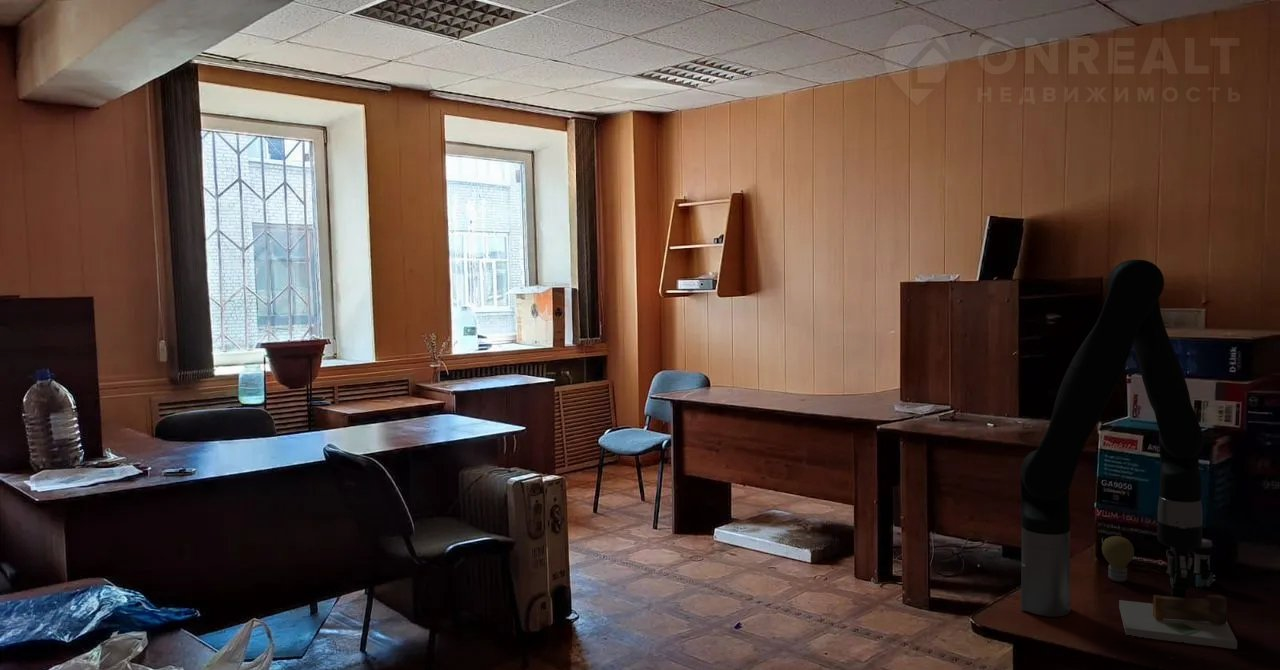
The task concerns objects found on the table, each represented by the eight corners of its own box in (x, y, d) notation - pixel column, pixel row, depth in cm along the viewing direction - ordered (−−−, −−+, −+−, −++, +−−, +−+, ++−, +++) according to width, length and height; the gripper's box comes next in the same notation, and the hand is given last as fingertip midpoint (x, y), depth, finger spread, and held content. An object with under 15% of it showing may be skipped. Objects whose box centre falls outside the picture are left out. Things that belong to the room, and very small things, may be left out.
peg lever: (1222, 618, 170) (1223, 595, 170) (1228, 625, 167) (1229, 601, 167) (1151, 614, 173) (1152, 591, 173) (1156, 620, 170) (1157, 597, 170)
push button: (1203, 578, 197) (1203, 534, 196) (1226, 586, 192) (1227, 541, 191) (1181, 582, 194) (1182, 538, 194) (1204, 590, 189) (1205, 545, 189)
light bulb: (1095, 576, 200) (1095, 533, 199) (1121, 574, 201) (1121, 531, 200) (1113, 586, 194) (1113, 542, 193) (1140, 584, 194) (1140, 540, 194)
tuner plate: (1125, 635, 169) (1125, 627, 168) (1119, 607, 182) (1119, 599, 182) (1237, 649, 161) (1237, 640, 161) (1221, 618, 175) (1221, 610, 175)
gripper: (1153, 509, 179) (1152, 591, 181) (1162, 528, 167) (1161, 615, 169) (1196, 512, 176) (1194, 596, 178) (1208, 531, 164) (1206, 621, 166)
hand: (1178, 605), depth 173 cm, fingers closed
